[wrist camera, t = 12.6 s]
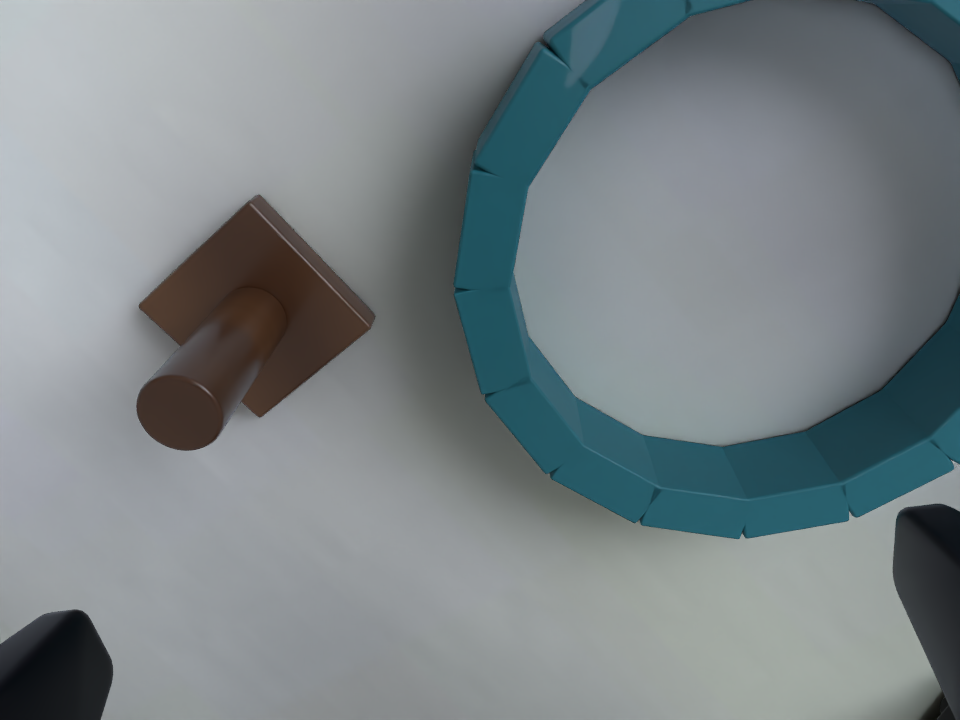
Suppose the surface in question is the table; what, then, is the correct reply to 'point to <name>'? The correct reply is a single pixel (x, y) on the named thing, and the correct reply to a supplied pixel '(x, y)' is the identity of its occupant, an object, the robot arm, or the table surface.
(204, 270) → the post
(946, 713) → the figurine
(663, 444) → the ring
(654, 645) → the table surface
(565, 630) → the table surface
